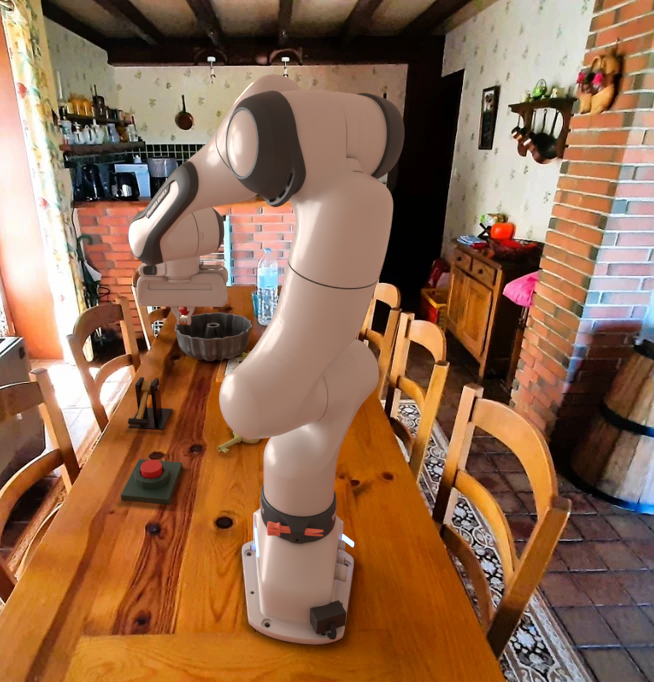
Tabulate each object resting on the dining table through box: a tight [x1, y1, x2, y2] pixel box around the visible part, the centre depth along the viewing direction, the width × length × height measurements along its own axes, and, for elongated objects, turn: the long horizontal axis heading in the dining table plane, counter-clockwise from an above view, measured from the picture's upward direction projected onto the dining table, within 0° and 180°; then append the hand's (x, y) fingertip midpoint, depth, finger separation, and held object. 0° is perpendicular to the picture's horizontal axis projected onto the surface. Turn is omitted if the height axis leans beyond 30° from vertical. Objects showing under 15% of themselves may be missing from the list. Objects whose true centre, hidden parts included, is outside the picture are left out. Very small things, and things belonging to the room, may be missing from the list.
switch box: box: [120, 458, 184, 506], centre depth 102 cm, size 12×10×4 cm
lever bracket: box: [128, 376, 173, 431], centre depth 125 cm, size 10×9×12 cm
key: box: [216, 430, 260, 454], centre depth 115 cm, size 7×12×2 cm, turn 153°
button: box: [141, 459, 163, 479], centre depth 101 cm, size 4×4×2 cm
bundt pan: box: [174, 312, 254, 362], centre depth 165 cm, size 26×26×10 cm
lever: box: [127, 379, 153, 425], centre depth 120 cm, size 12×5×2 cm, turn 168°
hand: (184, 324), depth 110 cm, fingers closed
